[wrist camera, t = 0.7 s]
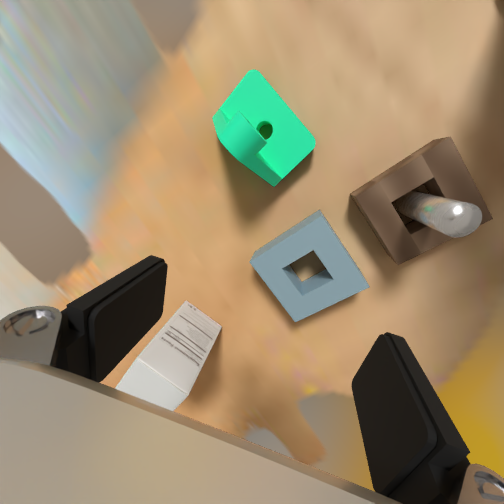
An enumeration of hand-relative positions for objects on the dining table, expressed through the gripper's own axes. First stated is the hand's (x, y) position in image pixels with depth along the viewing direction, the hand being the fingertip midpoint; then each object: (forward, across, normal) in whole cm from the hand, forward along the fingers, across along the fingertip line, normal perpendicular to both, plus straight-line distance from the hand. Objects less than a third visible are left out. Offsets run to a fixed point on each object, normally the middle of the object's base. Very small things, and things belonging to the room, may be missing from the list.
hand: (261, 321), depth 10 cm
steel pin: (+27, -15, -5) cm, 31 cm away
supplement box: (+27, +12, +28) cm, 40 cm away
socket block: (+27, -5, +7) cm, 28 cm away
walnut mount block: (+27, -15, -5) cm, 31 cm away
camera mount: (+27, +6, -9) cm, 30 cm away
